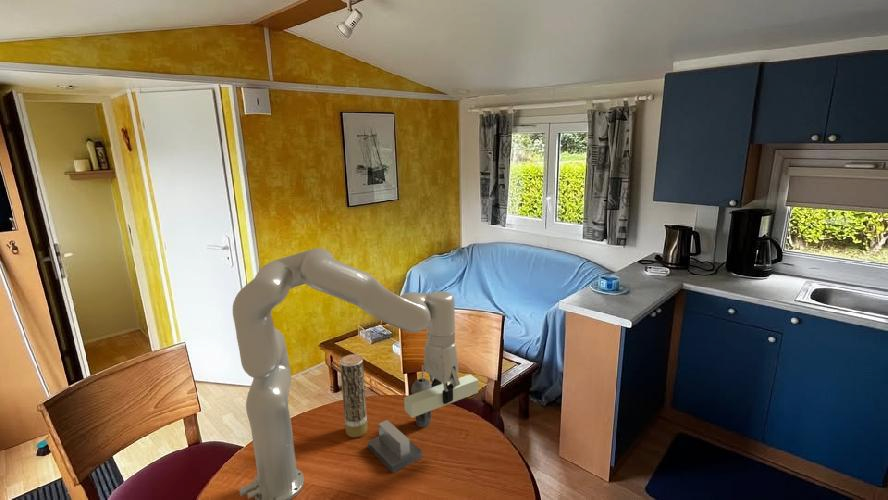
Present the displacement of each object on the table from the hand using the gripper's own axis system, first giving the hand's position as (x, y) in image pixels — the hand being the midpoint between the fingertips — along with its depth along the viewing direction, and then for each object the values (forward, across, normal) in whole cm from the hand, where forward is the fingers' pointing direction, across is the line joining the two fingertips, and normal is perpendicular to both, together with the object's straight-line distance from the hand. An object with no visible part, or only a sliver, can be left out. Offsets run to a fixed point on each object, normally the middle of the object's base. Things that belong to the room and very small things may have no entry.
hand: (442, 397), depth 123 cm
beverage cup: (+19, -17, +5) cm, 26 cm away
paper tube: (+19, -27, -14) cm, 36 cm away
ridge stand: (+19, -11, -10) cm, 24 cm away
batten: (+1, 0, 0) cm, 1 cm away
